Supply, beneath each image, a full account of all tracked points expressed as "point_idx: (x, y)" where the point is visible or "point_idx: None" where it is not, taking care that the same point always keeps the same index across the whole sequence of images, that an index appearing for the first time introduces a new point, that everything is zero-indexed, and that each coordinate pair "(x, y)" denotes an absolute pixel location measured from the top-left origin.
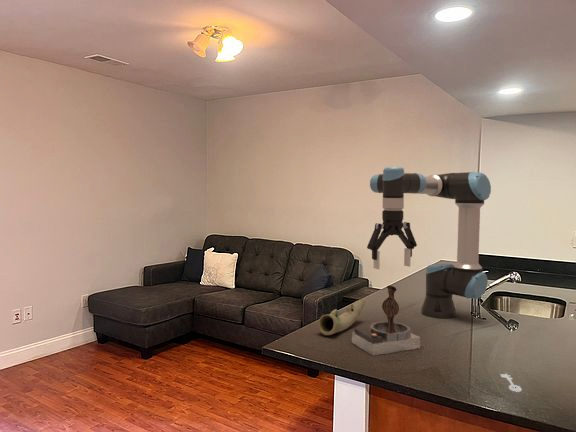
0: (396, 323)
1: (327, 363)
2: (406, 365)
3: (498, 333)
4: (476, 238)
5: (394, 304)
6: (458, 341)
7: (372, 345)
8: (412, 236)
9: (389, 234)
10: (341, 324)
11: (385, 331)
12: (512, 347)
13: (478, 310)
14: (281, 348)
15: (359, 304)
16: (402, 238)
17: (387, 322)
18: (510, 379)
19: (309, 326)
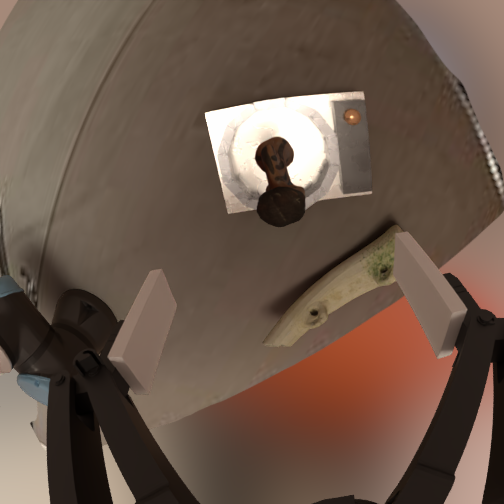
0: (242, 190)
1: (455, 91)
2: (299, 20)
3: (17, 190)
4: None
5: (276, 161)
6: (98, 147)
7: (362, 92)
8: (55, 449)
9: (402, 494)
10: (366, 254)
11: None
12: (24, 109)
13: None
14: (492, 194)
15: (286, 331)
16: (160, 462)
17: None
18: None
19: (395, 299)
